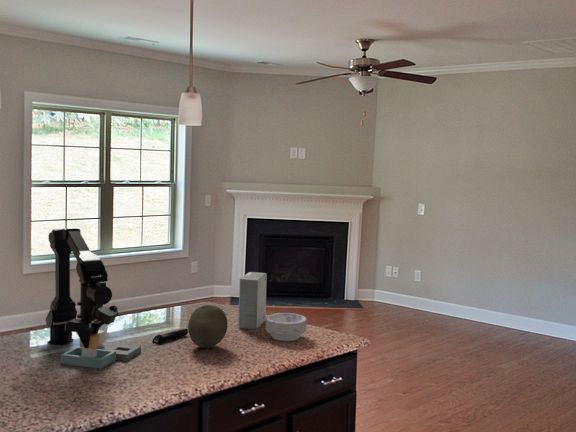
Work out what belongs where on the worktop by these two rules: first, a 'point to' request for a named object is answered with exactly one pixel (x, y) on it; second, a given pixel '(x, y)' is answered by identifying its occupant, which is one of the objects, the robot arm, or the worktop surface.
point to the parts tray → (88, 358)
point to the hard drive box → (252, 300)
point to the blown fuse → (91, 346)
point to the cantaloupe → (207, 326)
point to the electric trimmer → (170, 336)
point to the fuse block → (122, 350)
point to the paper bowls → (285, 326)
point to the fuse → (101, 338)
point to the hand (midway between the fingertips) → (89, 346)
